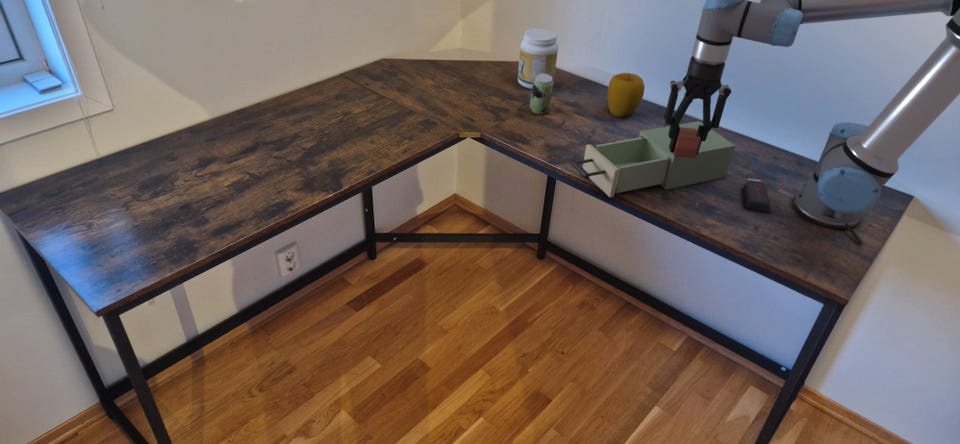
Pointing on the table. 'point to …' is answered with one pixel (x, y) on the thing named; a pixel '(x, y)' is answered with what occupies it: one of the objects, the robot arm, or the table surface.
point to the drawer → (624, 165)
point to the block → (687, 143)
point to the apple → (624, 94)
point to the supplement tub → (537, 55)
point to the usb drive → (756, 195)
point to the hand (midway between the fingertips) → (683, 150)
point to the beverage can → (541, 93)
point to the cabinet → (689, 170)
